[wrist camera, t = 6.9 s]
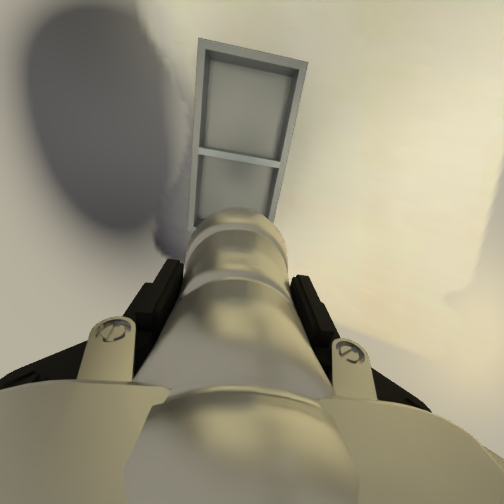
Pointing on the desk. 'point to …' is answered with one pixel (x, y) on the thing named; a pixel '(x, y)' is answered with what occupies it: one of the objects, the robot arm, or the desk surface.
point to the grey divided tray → (241, 128)
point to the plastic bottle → (237, 384)
